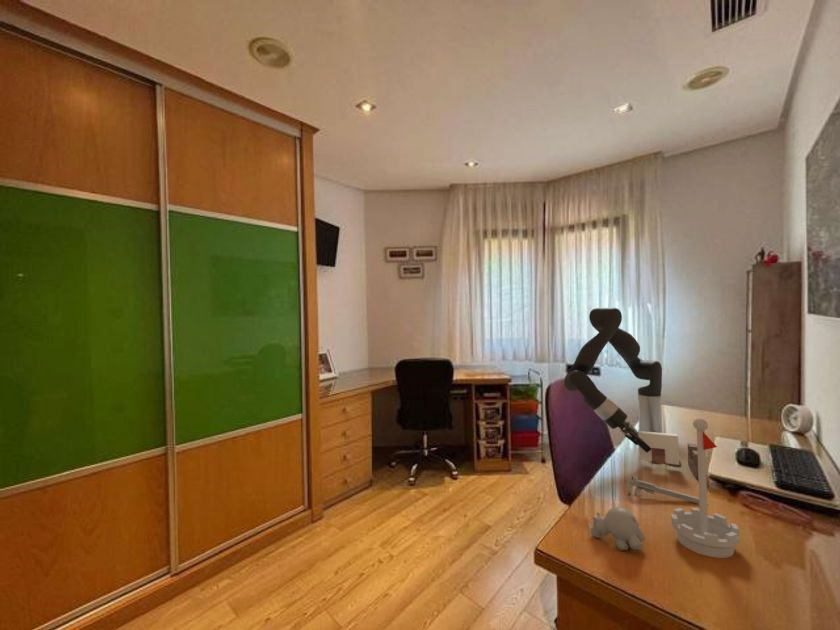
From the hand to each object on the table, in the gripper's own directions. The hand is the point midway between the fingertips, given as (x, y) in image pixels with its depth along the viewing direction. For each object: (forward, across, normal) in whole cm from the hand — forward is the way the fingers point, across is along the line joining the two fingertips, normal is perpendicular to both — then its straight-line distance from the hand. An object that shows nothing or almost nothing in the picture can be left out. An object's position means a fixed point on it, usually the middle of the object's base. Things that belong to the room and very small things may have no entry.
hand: (648, 449), depth 137 cm
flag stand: (+9, -48, -1) cm, 49 cm away
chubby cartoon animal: (-5, -56, +13) cm, 58 cm away
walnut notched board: (+14, 0, -6) cm, 15 cm away
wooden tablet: (+9, +16, +1) cm, 19 cm away
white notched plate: (+5, 0, +1) cm, 5 cm away
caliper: (+6, -26, +3) cm, 27 cm away
